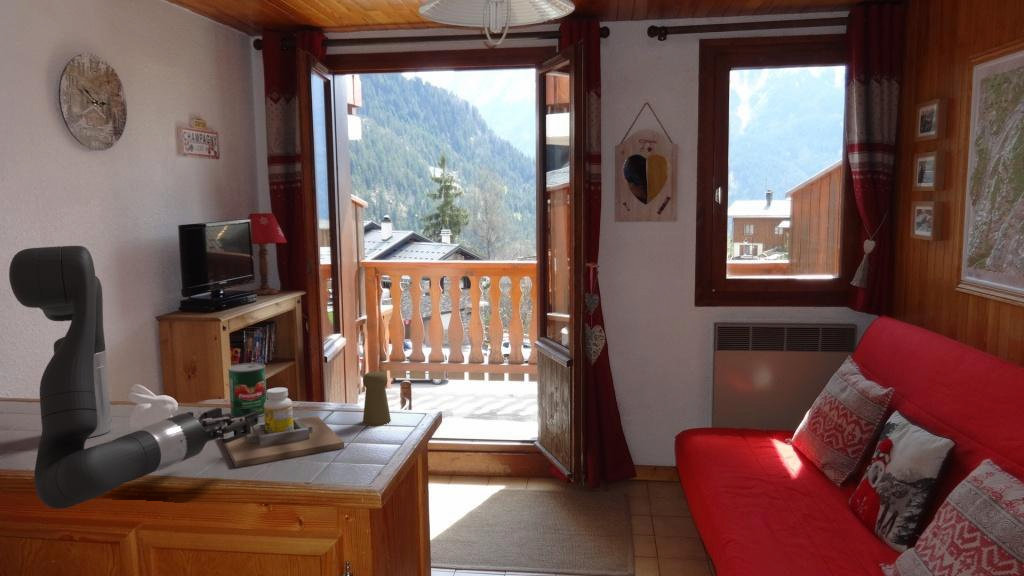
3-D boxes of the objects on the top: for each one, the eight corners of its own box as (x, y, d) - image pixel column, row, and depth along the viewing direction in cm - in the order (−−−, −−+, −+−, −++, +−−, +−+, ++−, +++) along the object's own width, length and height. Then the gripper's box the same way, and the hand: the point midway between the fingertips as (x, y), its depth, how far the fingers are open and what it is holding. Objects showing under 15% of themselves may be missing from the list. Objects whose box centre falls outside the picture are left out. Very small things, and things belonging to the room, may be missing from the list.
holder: (235, 467, 132) (234, 450, 132) (220, 436, 149) (219, 421, 149) (344, 447, 142) (343, 432, 141) (318, 421, 159) (317, 407, 159)
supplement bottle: (295, 438, 144) (292, 391, 143) (267, 442, 142) (264, 394, 140) (292, 430, 149) (289, 385, 147) (264, 434, 147) (261, 388, 145)
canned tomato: (245, 421, 160) (242, 372, 159) (223, 415, 164) (220, 368, 163) (275, 412, 166) (272, 365, 165) (252, 407, 171) (250, 361, 169)
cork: (384, 426, 155) (383, 376, 153) (358, 425, 156) (356, 375, 155) (394, 418, 161) (393, 369, 159) (369, 416, 162) (367, 368, 160)
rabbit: (185, 439, 148) (181, 382, 146) (138, 452, 141) (133, 392, 139) (156, 428, 155) (152, 374, 154) (110, 440, 148) (105, 383, 147)
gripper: (199, 425, 116) (268, 398, 131) (133, 416, 121) (207, 392, 136) (202, 470, 117) (270, 439, 132) (137, 459, 122) (209, 430, 137)
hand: (238, 415), depth 134 cm, fingers open, 8 cm apart
